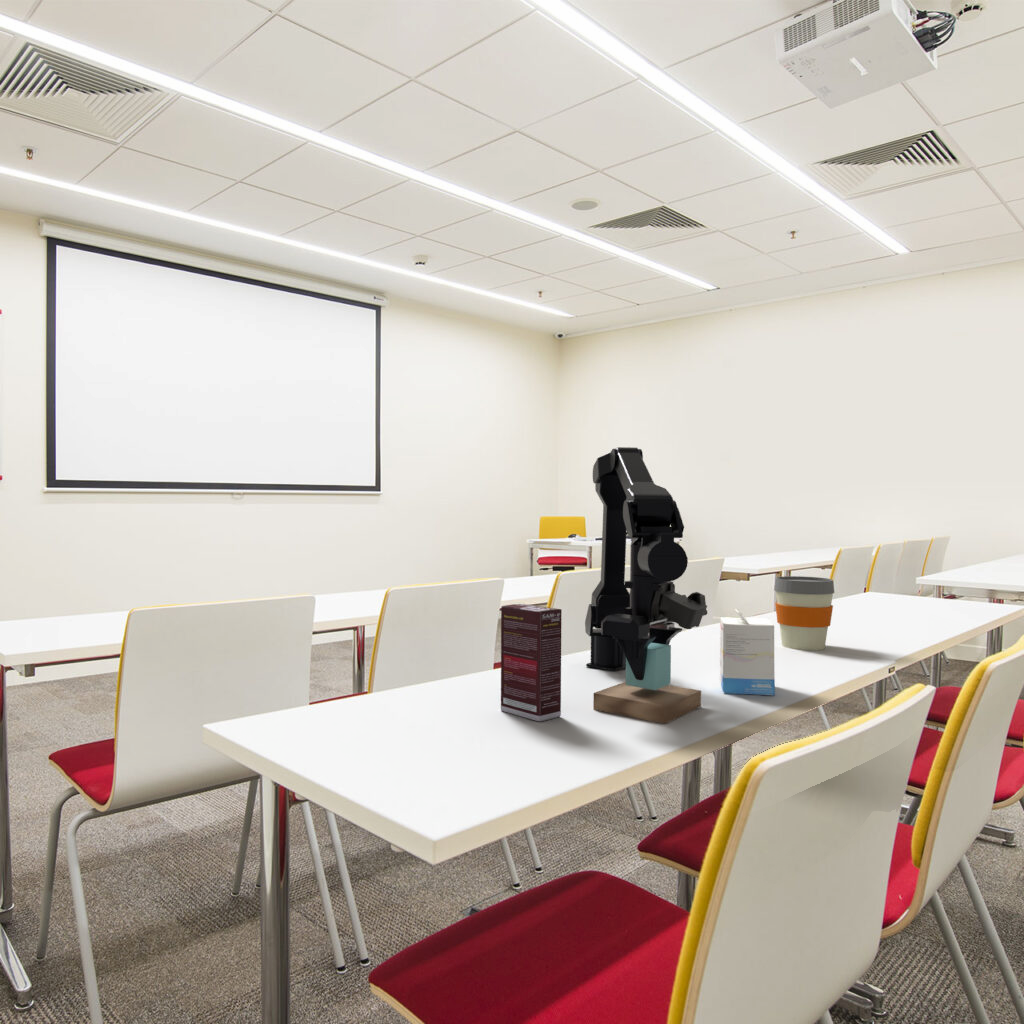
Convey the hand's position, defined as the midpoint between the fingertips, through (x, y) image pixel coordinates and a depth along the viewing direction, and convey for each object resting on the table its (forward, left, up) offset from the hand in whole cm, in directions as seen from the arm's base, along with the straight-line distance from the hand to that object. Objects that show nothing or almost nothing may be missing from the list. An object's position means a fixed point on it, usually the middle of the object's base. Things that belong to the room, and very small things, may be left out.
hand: (647, 676), depth 118 cm
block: (0, 0, -1) cm, 1 cm away
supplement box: (-12, -14, -5) cm, 19 cm away
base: (0, 0, -5) cm, 5 cm away
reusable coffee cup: (+2, +69, -5) cm, 69 cm away
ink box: (+7, +22, -5) cm, 24 cm away
